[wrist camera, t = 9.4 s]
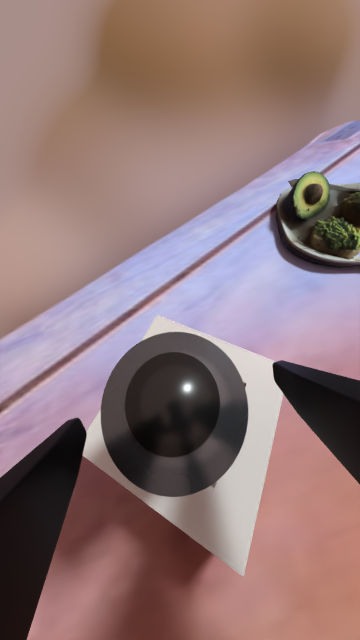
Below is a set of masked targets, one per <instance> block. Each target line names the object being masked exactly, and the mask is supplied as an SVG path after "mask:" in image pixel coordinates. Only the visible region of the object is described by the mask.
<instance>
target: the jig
mask: <svg viewBox="0 0 360 640" xmlns="http://www.w3.org/2000/svg"><path fill="white" fill-rule="evenodd" d="M166 332H186V333H191V334H195V335H198V336H201V337H203V338H205V339H207V340H209V341H211V342H212V343H214V344H215V345H217V346H218V347H219V348H220V349H221V350H222V351H224V352H225V353H226V354H227V356H228V357H229V358H230V359H231V360H232V362H233V363H234V365H235V366H236V368H237V370H238V372H239V374H240V376H241V378H242V381H243V383H244V386H245V390H246V394H247V400H248V425H247V432H246V435H245V439H244V443H243V445H242V447H241V450H240V452H239V454H238V456H237V458H236V459H235V461H234V463H233V464H232V466H231V467H230V468H229V469H228V471H227V472H226V473H225V474H224V475H223V476H222V477H221V478H220V479H219V480H218V481H216V482H215V483H214V484H212V485H211V486H209V487H208V488H206V489H204V490H202V491H199V492H197V493H195V494H191V495H187V496H181V497H166V496H159V495H155V494H152V493H149V492H147V491H145V490H143V489H141V488H139V487H137V486H136V485H134V484H133V483H132V482H130V481H129V480H128V479H127V478H126V477H125V476H124V475H123V474H122V473H121V472H120V471H119V469H118V468H117V467H116V465H115V464H114V462H113V461H112V459H111V457H110V455H109V453H108V451H107V448H106V445H105V443H104V438H103V434H102V428H101V409H100V411H99V412H98V414H97V416H96V417H95V419H94V421H93V422H92V424H91V426H90V427H89V429H88V430H87V432H86V433H87V437H86V442H85V446H84V451H83V455H82V456H84V457H85V458H86V459H88V460H89V461H90V462H92V463H93V464H94V465H96V466H97V467H98V468H100V469H101V470H102V471H104V472H105V473H106V474H108V475H109V476H110V477H112V478H113V479H114V480H116V481H117V482H118V483H120V484H121V485H122V486H124V487H125V488H126V489H127V490H129V491H130V492H131V493H133V494H134V495H135V496H137V497H138V498H139V499H141V500H142V501H143V502H145V503H146V504H147V505H149V506H150V507H151V508H153V509H154V510H155V511H157V512H158V513H159V514H161V515H162V516H163V517H165V518H166V519H167V520H169V521H170V522H171V523H173V524H174V525H175V526H177V527H178V528H179V529H181V530H182V531H183V532H185V533H186V534H187V535H188V536H190V537H191V538H192V539H194V540H195V541H196V542H198V543H199V544H200V545H202V546H203V547H204V548H206V549H207V550H208V551H210V552H211V553H212V554H214V555H215V556H216V557H218V558H219V559H220V560H222V561H223V562H224V563H226V564H227V565H228V566H230V567H231V568H232V569H234V570H235V571H236V572H238V573H239V574H240V575H242V576H243V577H244V572H245V568H246V563H247V559H248V554H249V549H250V545H251V540H252V536H253V531H254V526H255V522H256V517H257V513H258V508H259V503H260V499H261V494H262V490H263V485H264V480H265V476H266V471H267V467H268V462H269V457H270V453H271V448H272V444H273V439H274V434H275V430H276V425H277V421H278V416H279V411H280V407H281V402H282V398H283V392H282V391H281V390H280V388H279V387H278V386H277V384H276V383H275V381H274V377H273V368H272V364H273V363H274V362H276V361H273V360H271V359H268V358H266V357H263V356H261V355H258V354H256V353H253V352H250V351H248V350H245V349H243V348H240V347H238V346H235V345H233V344H230V343H228V342H225V341H222V340H220V339H217V338H215V337H212V336H210V335H207V334H205V333H202V332H200V331H197V330H194V329H192V328H189V327H187V326H184V325H182V324H179V323H177V322H174V321H172V320H169V319H166V318H164V317H161V316H159V315H157V316H156V318H155V319H154V321H153V323H152V324H151V326H150V328H149V329H148V331H147V333H146V334H145V336H144V338H143V339H142V341H143V340H145V339H147V338H149V337H151V336H154V335H157V334H161V333H166Z"/></svg>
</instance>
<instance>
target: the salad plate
mask: <svg viewBox="0 0 360 640" xmlns="http://www.w3.org/2000/svg"><path fill="white" fill-rule="evenodd" d="M288 182H289V183H290V185H291V188H289V189H287V190H286V191H284V192H283V193H282V194H281V195H280V197H279V198H278V200H277V205H276V213H277V215H276V219H277V224H278V228H279V233H280V237H281V239H282V241H283V243H284V244H285V245H286V247H287V248H288V249H289V250H290V251H291V252H293V253H294V254H295V255H297V256H299V257H300V258H302V259H305V260H307V261H310V262H314V263H317V264H324V265H329V266H336V267H348V266H353V265H360V257H354V256H356V255H357V254H358V253H360V183H350V184H336V185H332V184H329V183H328V181H327V179H326V178H325V177H324V176H323V175H322V174H321V173H318V172H314V171H313V172H309V173H306V174H304V175H303V176H302V177H301V178H300V179H294V180H291V181H288ZM300 238H301V239H300Z"/></svg>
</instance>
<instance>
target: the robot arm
mask: <svg viewBox="0 0 360 640" xmlns="http://www.w3.org/2000/svg"><path fill="white" fill-rule="evenodd" d="M272 368H273V377H274V381H275V383H276V384H277V386H278V387H279V388H280V390H281V391H282V392H283V394H284V395H285V397H286V398H287V399H288V401H289V402H290V404H291V405H292V406H293V408H294V409H295V410H296V412H297V413H298V414H299V415H300V417H301V418H302V419H303V420H304V421H305V422H306V424H307V425H308V426H309V427H310V428H311V429H312V430H313V432H314V433H315V434H316V435H317V436H318V437H319V438H320V440H321V441H322V442H323V443H324V444H325V445H326V446H327V448H328V449H329V450H330V451H331V452H332V453H333V454H334V456H335V457H336V458H337V459H338V460H339V461H340V462H341V464H342V465H343V466H344V467H345V468H346V469H347V470H348V472H349V473H350V474H351V475H352V476H353V477H354V478H355V480H356V481H357V482H358V483H359V484H360V381H359V380H355V379H351V378H347V377H344V376H340V375H336V374H332V373H328V372H324V371H321V370H317V369H313V368H309V367H305V366H301V365H298V364H294V363H290V362H286V361H277V362H274V363H273V364H272ZM86 437H87V433H86V430H85V428H84V426H83V424H82V422H81V420H80V419H79V418H74V419H70V420H68V421H67V422H65V423H64V424H63V425H62V426H61V427H59V428H58V429H57V430H56V431H55V432H54V433H52V434H51V435H50V436H49V437H48V438H47V439H45V440H44V441H43V442H42V443H41V444H39V445H38V446H37V447H36V448H35V449H34V450H32V451H31V452H30V453H29V454H28V455H27V456H25V457H24V458H23V459H22V460H21V461H20V462H18V463H17V464H16V465H15V466H14V467H12V468H11V469H10V470H9V471H8V472H7V473H5V474H4V475H3V476H2V477H1V478H0V640H27V637H28V633H29V630H30V627H31V624H32V621H33V618H34V614H35V611H36V608H37V605H38V602H39V598H40V595H41V592H42V589H43V586H44V583H45V579H46V576H47V573H48V570H49V567H50V563H51V560H52V557H53V554H54V551H55V548H56V544H57V541H58V538H59V535H60V532H61V528H62V525H63V522H64V519H65V516H66V513H67V509H68V506H69V503H70V500H71V497H72V493H73V490H74V487H75V484H76V480H77V477H78V473H79V469H80V464H81V460H82V455H83V451H84V446H85V442H86Z"/></svg>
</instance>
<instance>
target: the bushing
mask: <svg viewBox="0 0 360 640" xmlns="http://www.w3.org/2000/svg"><path fill="white" fill-rule="evenodd" d="M247 425H248V400H247V394H246V390H245V386H244V383H243V381H242V378H241V376H240V374H239V372H238V370H237V368H236V366H235V365H234V363H233V362H232V360H231V359H230V358H229V357H228V356H227V354H226V353H225V352H224V351H222V350H221V349H220V348H219V347H218V346H217V345H215V344H214V343H212V342H211V341H209V340H207V339H205V338H203V337H201V336H198V335H195V334H191V333H186V332H166V333H161V334H157V335H154V336H151V337H149V338H147V339H145V340H143V341H141V342H140V343H138V344H136V345H135V346H134V347H133V348H131V349H130V350H129V351H128V352H127V353H126V354H125V355H124V356H123V357H122V358H121V359H120V361H119V362H118V363H117V365H116V366H115V368H114V369H113V371H112V373H111V375H110V377H109V379H108V381H107V384H106V387H105V390H104V394H103V398H102V404H101V428H102V434H103V438H104V443H105V445H106V448H107V451H108V453H109V455H110V457H111V459H112V461H113V462H114V464H115V465H116V467H117V468H118V469H119V471H120V472H121V473H122V474H123V475H124V476H125V477H126V478H127V479H128V480H129V481H130V482H132V483H133V484H134V485H136V486H137V487H139V488H141V489H143V490H145V491H147V492H149V493H152V494H155V495H159V496H166V497H181V496H187V495H191V494H195V493H197V492H199V491H202V490H204V489H206V488H208V487H209V486H211V485H212V484H214V483H215V482H216V481H218V480H219V479H220V478H221V477H222V476H223V475H224V474H225V473H226V472H227V471H228V469H229V468H230V467H231V466H232V464H233V463H234V461H235V459H236V458H237V456H238V454H239V452H240V450H241V447H242V445H243V443H244V439H245V435H246V432H247Z"/></svg>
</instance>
